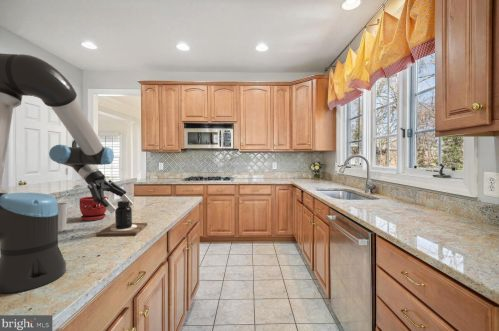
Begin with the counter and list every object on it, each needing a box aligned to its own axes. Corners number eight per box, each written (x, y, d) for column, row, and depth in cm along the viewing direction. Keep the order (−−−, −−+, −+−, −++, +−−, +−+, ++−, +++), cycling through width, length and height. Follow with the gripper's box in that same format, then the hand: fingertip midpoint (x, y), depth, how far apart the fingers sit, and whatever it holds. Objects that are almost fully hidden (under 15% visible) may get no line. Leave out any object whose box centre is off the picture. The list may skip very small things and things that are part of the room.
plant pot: (103, 221, 127) (103, 198, 126) (75, 222, 123) (75, 199, 123) (111, 215, 139) (110, 195, 139) (85, 216, 136) (85, 195, 136)
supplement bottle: (129, 224, 115) (129, 199, 115) (134, 227, 110) (134, 201, 110) (113, 227, 110) (113, 201, 110) (117, 230, 105) (117, 203, 105)
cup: (55, 232, 106) (55, 206, 106) (41, 231, 108) (41, 205, 107) (72, 227, 114) (72, 202, 114) (58, 226, 115) (58, 202, 115)
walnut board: (135, 235, 103) (135, 232, 103) (96, 236, 101) (96, 233, 101) (147, 225, 119) (147, 222, 119) (113, 226, 117) (113, 223, 117)
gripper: (105, 178, 124) (132, 208, 123) (64, 183, 99) (98, 220, 98) (114, 168, 124) (142, 198, 123) (76, 170, 99) (110, 207, 98)
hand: (123, 208), depth 111 cm, fingers open, 13 cm apart
